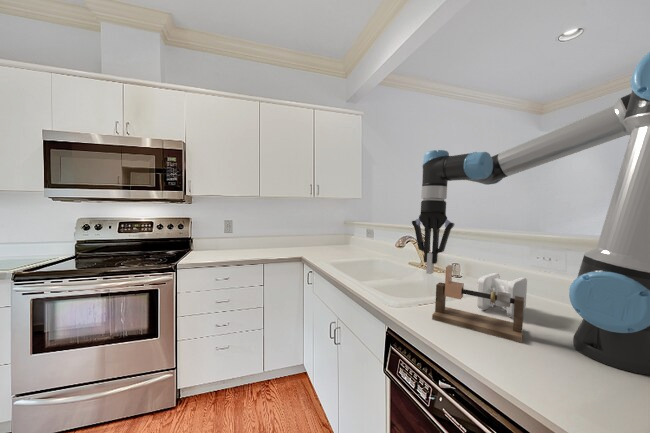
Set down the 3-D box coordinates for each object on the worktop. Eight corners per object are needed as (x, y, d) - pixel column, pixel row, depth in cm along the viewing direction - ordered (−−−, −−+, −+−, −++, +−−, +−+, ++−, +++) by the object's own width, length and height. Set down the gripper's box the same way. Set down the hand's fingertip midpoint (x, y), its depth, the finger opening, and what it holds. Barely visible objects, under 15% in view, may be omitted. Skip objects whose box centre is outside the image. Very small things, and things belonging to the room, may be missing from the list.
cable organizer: (511, 321, 83) (513, 283, 82) (474, 310, 91) (476, 276, 91) (526, 311, 92) (528, 277, 92) (492, 302, 100) (493, 271, 100)
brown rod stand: (522, 329, 77) (524, 293, 76) (521, 342, 69) (523, 302, 68) (440, 310, 90) (442, 279, 90) (432, 319, 82) (433, 285, 82)
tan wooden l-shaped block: (463, 296, 83) (464, 267, 83) (460, 299, 80) (462, 269, 80) (447, 293, 86) (448, 265, 85) (444, 296, 83) (445, 266, 82)
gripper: (458, 200, 85) (454, 274, 86) (417, 200, 93) (413, 267, 94) (453, 199, 79) (448, 279, 80) (409, 199, 87) (406, 271, 88)
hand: (429, 272), depth 87 cm, fingers closed
